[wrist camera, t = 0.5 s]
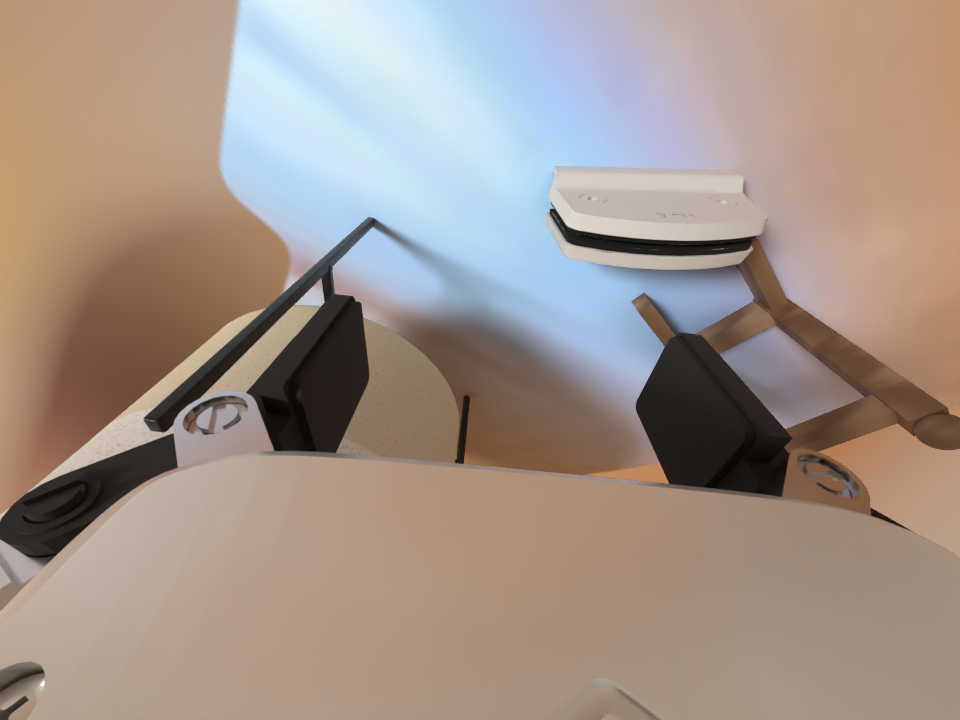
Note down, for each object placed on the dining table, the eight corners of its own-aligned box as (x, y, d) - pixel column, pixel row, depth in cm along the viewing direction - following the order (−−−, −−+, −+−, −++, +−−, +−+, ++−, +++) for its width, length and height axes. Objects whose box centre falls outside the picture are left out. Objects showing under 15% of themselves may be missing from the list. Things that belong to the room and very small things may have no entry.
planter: (513, 378, 46) (539, 841, 17) (370, 443, 56) (233, 810, 27) (379, 201, 33) (-392, 849, 4) (223, 324, 43) (-344, 785, 14)
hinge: (738, 170, 30) (812, 212, 23) (712, 223, 34) (770, 274, 26) (549, 165, 31) (565, 205, 24) (542, 218, 34) (554, 268, 27)
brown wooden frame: (744, 226, 33) (971, 341, 17) (781, 301, 38) (989, 447, 22) (627, 303, 39) (719, 445, 23) (672, 361, 43) (774, 512, 27)
